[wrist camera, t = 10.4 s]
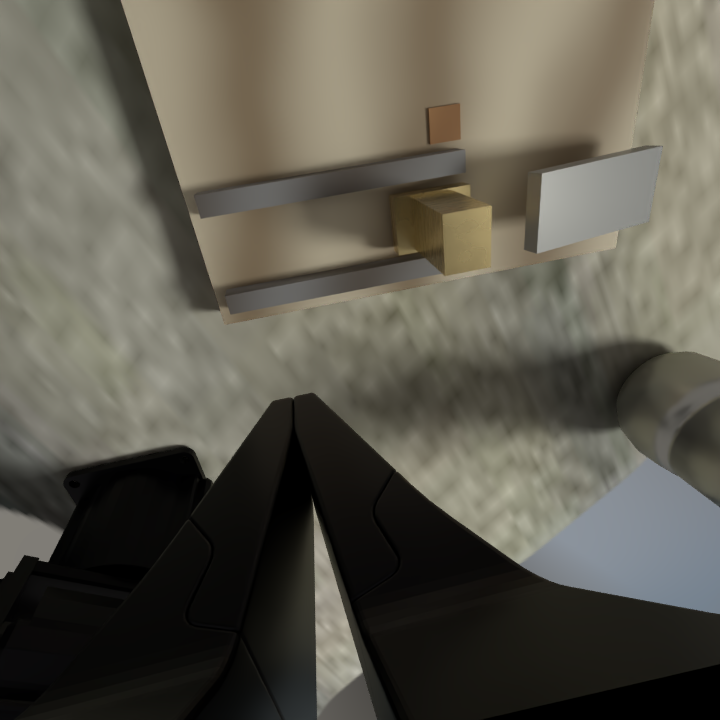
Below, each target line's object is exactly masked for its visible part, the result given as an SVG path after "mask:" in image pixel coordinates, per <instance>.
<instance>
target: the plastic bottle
mask: <svg viewBox="0 0 720 720" xmlns="http://www.w3.org/2000/svg"><path fill="white" fill-rule="evenodd" d="M616 409H617V416H618V422H619V425H620V428H621V430H622V431H623V432H624V434H625V435H626V436H627V437H628V439H629V440H630V441H631V443H632V444H633V445H634V446H635V448H636V449H637V450H638V451H639V452H641V453H642V454H644V455H645V456H646V457H648V458H649V459H651V460H652V461H654V462H655V463H656V464H658V465H660V466H661V467H663V468H665V469H666V470H668V471H670V472H671V473H673V474H675V475H677V476H679V477H680V478H682V479H683V480H684V481H686V482H687V483H688V484H689V485H691V486H692V487H693V488H695V489H696V490H697V491H699V492H700V493H701V494H703V495H704V496H705V497H707V498H708V499H709V500H711V501H712V502H713V503H715V504H716V505H717V506H719V507H720V361H718V360H716V359H713V358H710V357H707V356H704V355H701V354H698V353H695V352H675V353H666V354H662V355H659V356H656V357H654V358H652V359H650V360H648V361H646V362H645V363H643V364H642V365H640V366H639V367H638V368H637V369H636V370H635V371H634V372H633V373H632V374H631V375H630V376H629V377H628V378H627V380H626V381H625V383H624V384H623V385H622V388H621V390H620V392H619V394H618V398H617V404H616Z"/></svg>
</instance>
